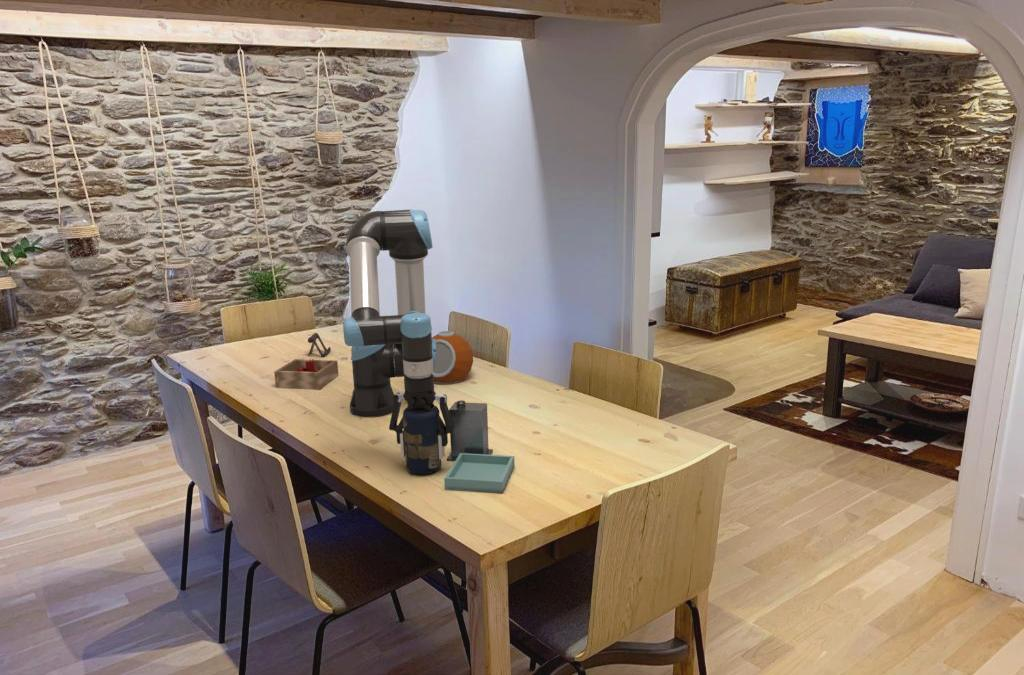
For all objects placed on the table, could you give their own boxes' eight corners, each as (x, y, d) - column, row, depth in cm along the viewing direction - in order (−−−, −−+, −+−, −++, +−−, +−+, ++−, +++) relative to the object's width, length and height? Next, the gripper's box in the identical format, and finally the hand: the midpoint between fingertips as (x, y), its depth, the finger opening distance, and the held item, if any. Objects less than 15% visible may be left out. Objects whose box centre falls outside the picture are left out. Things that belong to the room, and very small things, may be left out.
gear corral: (275, 387, 265) (274, 371, 264) (296, 374, 281) (295, 359, 279) (320, 389, 262) (318, 373, 261) (338, 376, 277) (337, 360, 276)
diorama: (333, 383, 269) (331, 361, 267) (299, 387, 265) (297, 365, 263) (329, 375, 279) (327, 353, 277) (296, 379, 275) (294, 357, 273)
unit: (446, 460, 201) (444, 406, 197) (454, 449, 208) (452, 396, 204) (486, 463, 198) (484, 408, 195) (492, 451, 206) (491, 398, 202)
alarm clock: (412, 383, 267) (410, 336, 263) (435, 369, 283) (433, 325, 279) (460, 388, 260) (459, 340, 256) (481, 374, 276) (480, 328, 272)
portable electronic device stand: (325, 357, 303) (323, 337, 301) (306, 358, 303) (304, 338, 301) (331, 351, 311) (329, 332, 309) (312, 352, 311) (310, 332, 309)
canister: (406, 462, 200) (402, 399, 195) (442, 460, 201) (439, 397, 196) (405, 477, 191) (400, 411, 186) (442, 475, 191) (438, 409, 187)
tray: (444, 489, 184) (444, 478, 183) (460, 463, 199) (460, 453, 198) (502, 493, 181) (502, 481, 180) (514, 466, 196) (514, 456, 195)
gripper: (371, 377, 188) (377, 459, 193) (457, 380, 184) (460, 464, 189) (382, 368, 195) (387, 448, 200) (464, 371, 191) (467, 452, 196)
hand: (423, 456), depth 195 cm, fingers closed on canister, 10 cm apart
